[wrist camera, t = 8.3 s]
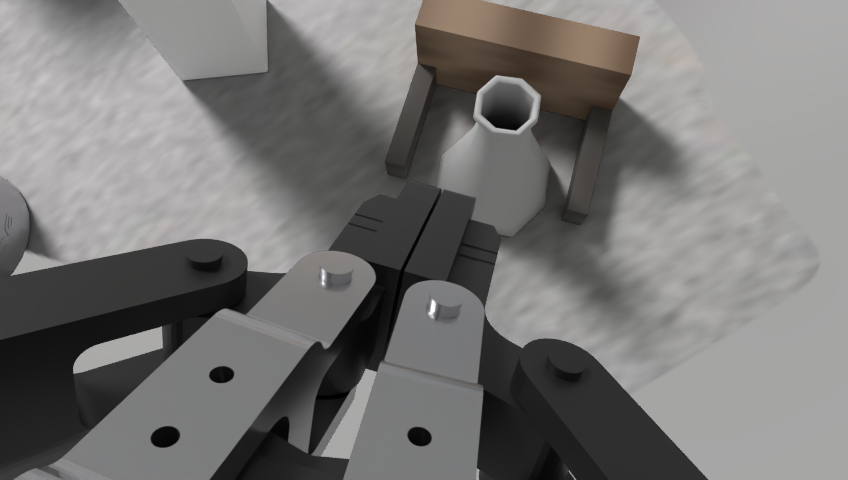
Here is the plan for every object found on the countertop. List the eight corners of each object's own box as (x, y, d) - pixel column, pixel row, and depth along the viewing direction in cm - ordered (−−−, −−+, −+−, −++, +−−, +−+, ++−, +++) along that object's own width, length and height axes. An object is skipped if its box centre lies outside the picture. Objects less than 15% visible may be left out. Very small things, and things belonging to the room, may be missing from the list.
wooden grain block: (387, 174, 39) (378, 132, 33) (429, 47, 41) (427, -12, 36) (580, 224, 38) (605, 190, 32) (611, 91, 40) (640, 36, 34)
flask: (519, 257, 37) (544, 202, 28) (414, 205, 38) (404, 135, 29) (568, 159, 39) (609, 75, 29) (467, 112, 40) (474, 16, 30)
